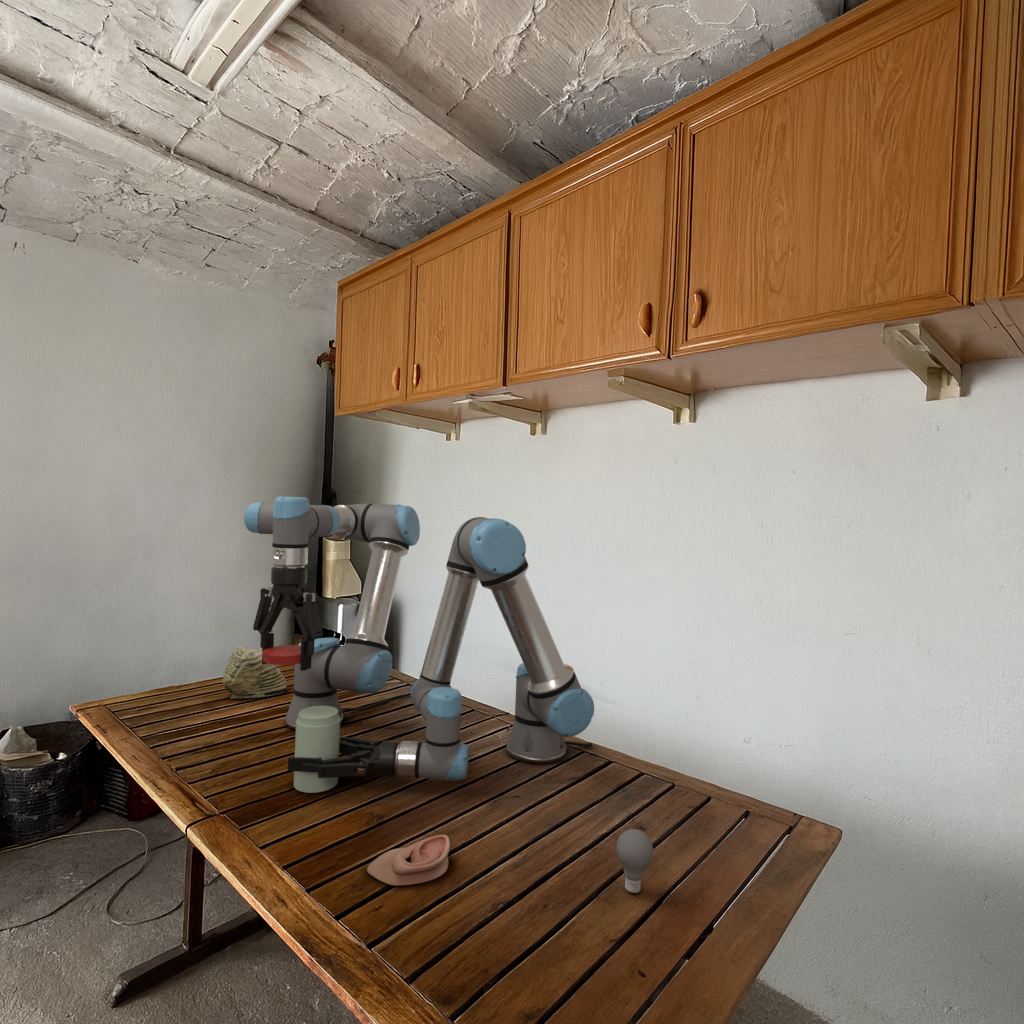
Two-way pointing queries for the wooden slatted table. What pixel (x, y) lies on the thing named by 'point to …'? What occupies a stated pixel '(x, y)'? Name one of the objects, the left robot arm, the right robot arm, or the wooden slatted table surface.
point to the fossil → (252, 675)
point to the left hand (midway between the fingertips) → (286, 665)
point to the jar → (316, 745)
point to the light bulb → (634, 857)
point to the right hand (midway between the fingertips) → (296, 754)
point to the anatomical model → (412, 862)
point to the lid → (282, 655)
